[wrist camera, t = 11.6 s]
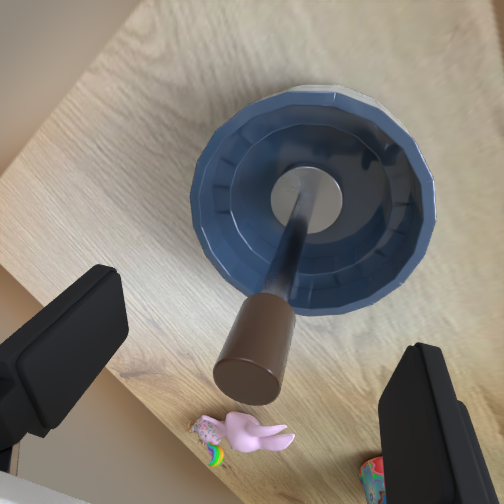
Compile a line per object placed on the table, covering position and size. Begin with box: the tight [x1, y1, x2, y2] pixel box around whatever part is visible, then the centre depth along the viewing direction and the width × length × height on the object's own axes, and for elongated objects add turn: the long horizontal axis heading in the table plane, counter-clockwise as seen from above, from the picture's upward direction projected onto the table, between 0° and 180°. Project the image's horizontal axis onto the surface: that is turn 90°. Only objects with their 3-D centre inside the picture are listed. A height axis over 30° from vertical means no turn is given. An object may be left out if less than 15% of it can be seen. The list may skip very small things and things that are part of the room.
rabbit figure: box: [184, 411, 295, 467], centre depth 35 cm, size 6×6×15 cm
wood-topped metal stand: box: [213, 162, 343, 406], centre depth 15 cm, size 5×5×15 cm
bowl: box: [190, 84, 436, 316], centre depth 20 cm, size 13×13×5 cm
